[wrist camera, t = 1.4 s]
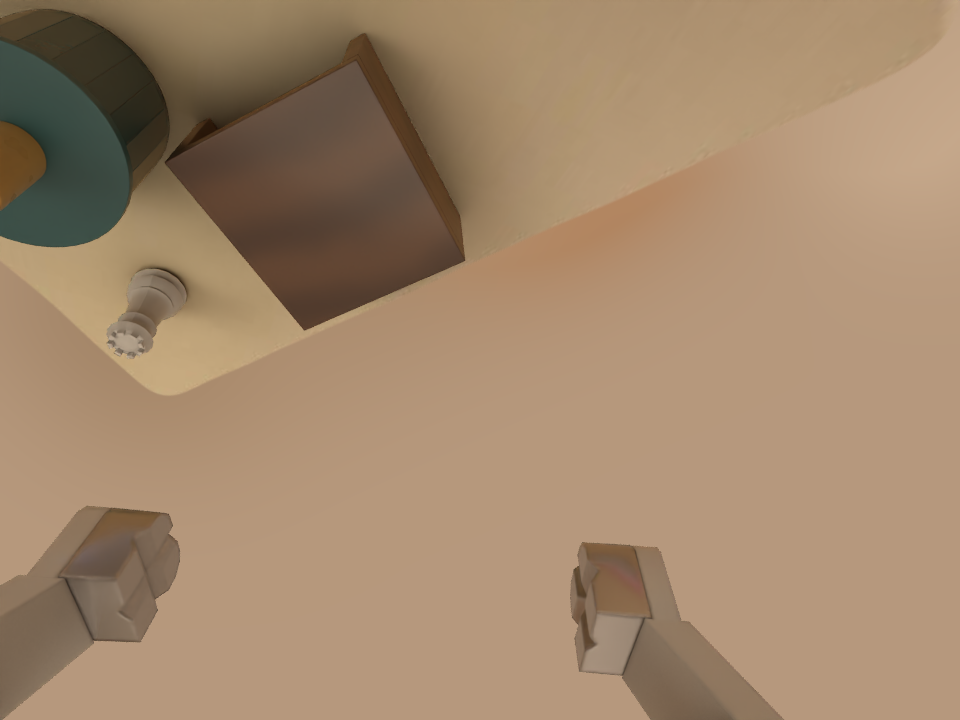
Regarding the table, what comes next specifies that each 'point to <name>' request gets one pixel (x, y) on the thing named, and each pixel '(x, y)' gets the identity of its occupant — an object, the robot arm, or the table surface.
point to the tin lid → (56, 155)
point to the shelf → (326, 191)
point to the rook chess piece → (145, 311)
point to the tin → (101, 77)
